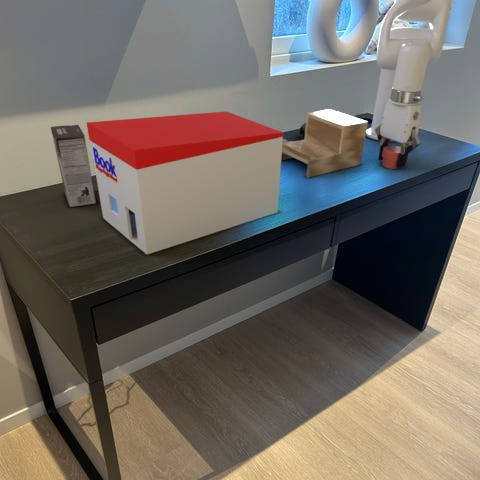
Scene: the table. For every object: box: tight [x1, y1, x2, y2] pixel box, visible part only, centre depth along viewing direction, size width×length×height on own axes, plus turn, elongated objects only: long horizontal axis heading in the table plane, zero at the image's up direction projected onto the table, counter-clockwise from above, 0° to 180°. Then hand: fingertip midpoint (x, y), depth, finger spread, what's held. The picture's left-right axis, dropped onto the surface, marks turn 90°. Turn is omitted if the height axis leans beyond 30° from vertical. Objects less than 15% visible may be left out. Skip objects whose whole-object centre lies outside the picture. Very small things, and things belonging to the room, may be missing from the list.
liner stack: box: [381, 145, 401, 170], centre depth 139 cm, size 6×6×5 cm
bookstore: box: [86, 111, 284, 255], centre depth 105 cm, size 21×35×21 cm, turn 127°
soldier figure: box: [276, 128, 294, 144], centre depth 150 cm, size 8×5×12 cm
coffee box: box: [50, 124, 97, 208], centre depth 113 cm, size 9×6×16 cm
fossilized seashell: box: [299, 122, 306, 136], centre depth 160 cm, size 8×7×10 cm
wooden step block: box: [281, 108, 369, 178], centre depth 138 cm, size 20×16×12 cm
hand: (391, 162), depth 140 cm, fingers closed on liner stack, 6 cm apart
